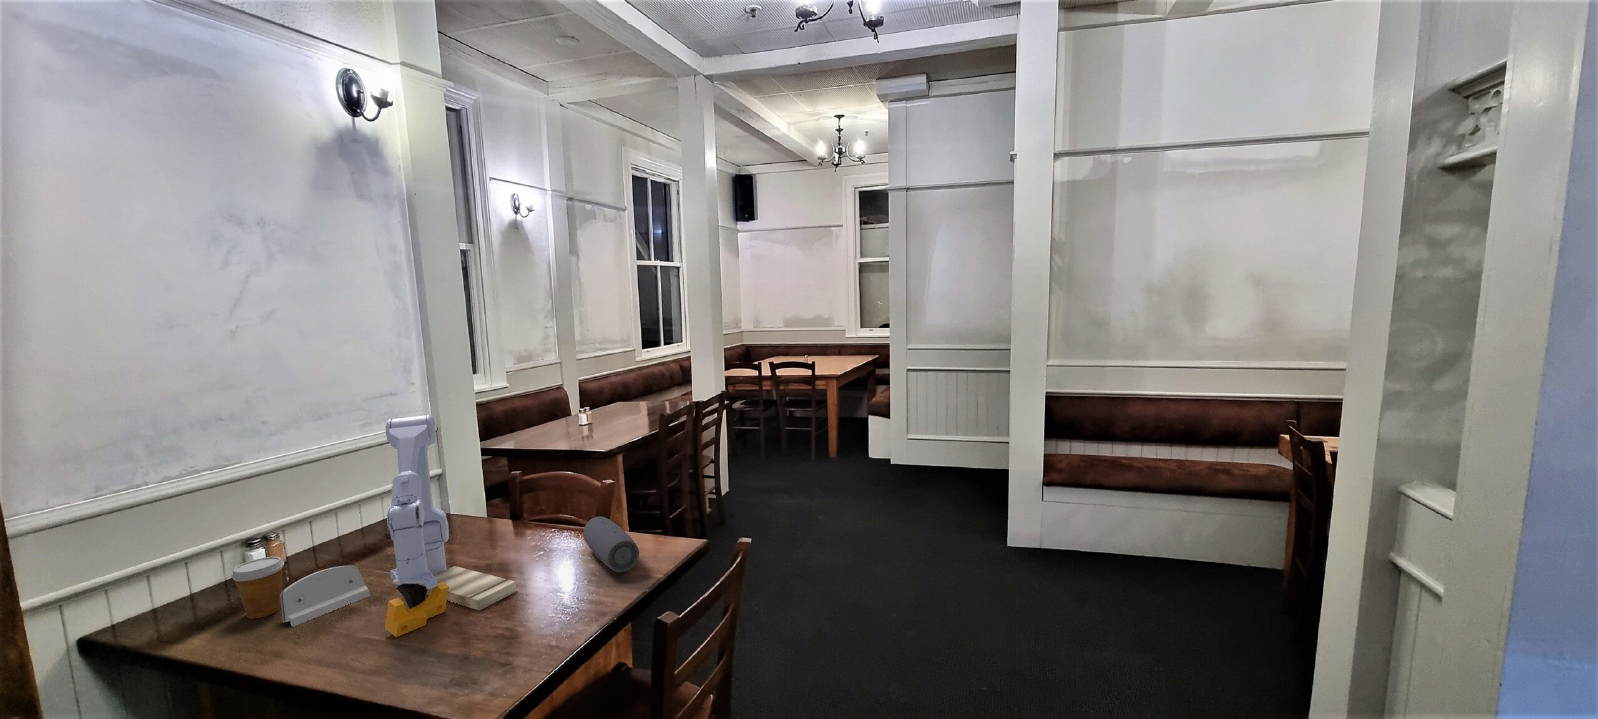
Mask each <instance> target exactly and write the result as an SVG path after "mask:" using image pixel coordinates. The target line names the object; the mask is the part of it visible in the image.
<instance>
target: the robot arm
mask: <svg viewBox="0 0 1598 719" xmlns="http://www.w3.org/2000/svg"><path fill="white" fill-rule="evenodd" d="M385 436H386V440H387V442H389V444H390V446H391V448H393V449H396V452H397V453H396V454H397V467H398V468H397V469H398V474H397V475H396V476H395V477H394V478H393V479H392V482H391V483H392V484H391V485H392V486H391V489H392V490H391V507H390V508H388V509H387V512H386V513H387V515H386V521H387V523H386V524H387V527H388V531H389V533H390V538H391V541H393V546H394V547H393V548H394V556H395V564H396V568H393V569H391V570H390V571H389V573H390V579H391V580H393V581H392V584H393V585H397V587H396V590H397V591H398V592H399V593H400V594H401V596H402V597H403V599H404V600H405V602H406V605H407V608H408V609H409V608H413V607H415V606H417V605H419V604H421V603H422V602H423V601H424V600H425V599H426V598H427V595H426V593H427V591H428V589H431V588H434V587H436V586H438V585H437V578H436V577H434V576H433V575H435V574H437V573H440V572H442V571H444V570H447V569H448V568H447V564H446V563H447V562H446V561H447V560H446V554H445V552H446V551H445V543H446V542H448V540H449V539H450V533H449V532H450V528H449V522H448V519H447V513H446V512H445V511H444V510H442V509H439V508H437V507H435V506H434V504H433V496H432V485H431V478H430V477H431V476H430V467H429V459H428V458H429V457H428V451H429V450H428V449H429V447H430V446H431V445H434V444H435V443H436V441H437V435H436V426H435V418H434V416H433V415H431V414H429V413H428V414H425V415H415V416H406V417H400V418H388V419H387V421H386V422H385Z"/></svg>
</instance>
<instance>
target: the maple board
mask: <svg viewBox="0 0 1598 719" xmlns="http://www.w3.org/2000/svg"><path fill="white" fill-rule="evenodd" d="M446 569H447V570H444V571H442V572H440V573H437V574H435V575H433V576H434V577H436V578H437V583H440V582H444V583H445V584H446V585H448V586H449V590H448V596H447V600H448V601H447V602H449V601H450V603H453V602H454V603H453V604H456V603H458V604H457V605H459V604H460V606H463V607H467V608H469V609H473V610H476V611H481V610H483V609H485V608H487V607H489V606H491V605H493V604H495V603H497V602H499V601H500V600H502V599H505V598H506V597H508V596H510V595H512V594H515V593H516V592H517V582H516V580H511V579H509V578H503V577H499V576H495V575H492V574H487V573H485V572H480V571H476V570H472V569H468V568H464V567H461V566H460V567H459V566H455V565H453V566H451V567H449V568H446ZM432 590H433V588H431V589H428V591H427V593H426V594H427V595H426V596H429V595H430V593H431V592H432Z"/></svg>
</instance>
